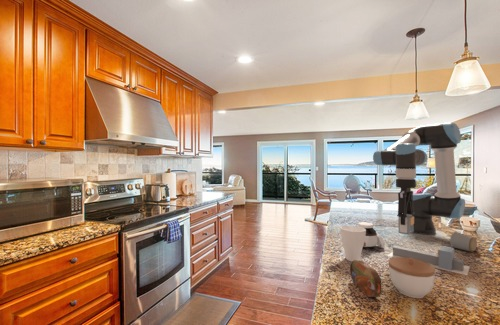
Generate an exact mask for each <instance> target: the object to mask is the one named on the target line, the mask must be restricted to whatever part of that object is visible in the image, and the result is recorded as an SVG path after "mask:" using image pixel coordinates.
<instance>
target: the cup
mask: <svg viewBox="0 0 500 325" xmlns="http://www.w3.org/2000/svg"><path fill="white" fill-rule="evenodd" d="M339 230H340V232H339V233H340V236H341V242H342V245H343V250H344V255H345V259H346V261H349V262H352V261H354V260H356V261H362V260H361V258H362V251H363V245H364V240H365V235H366V229H365V228H362V227H358V225H341V226H340V227H339Z"/></svg>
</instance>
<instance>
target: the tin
mask: <svg viewBox="0 0 500 325" xmlns="http://www.w3.org/2000/svg"><path fill="white" fill-rule="evenodd" d="M349 272H350V278H351V280H352V283H353V284H354V285H355V287H356V288H358V290H360V291H361V292H362V293H363V294H364V295H365V296H366V297H367V298H378V297H380V296H381V294H382V286H383V285H382V284H383V283H382V279H381V276H380V274H379V273H378V271H377V270H376V269H374V268H373V267H372V266H370V265H368V264H367V263H366V262H364V261H362V260H360V261H356V260H354V261H351V263H350V267H349Z"/></svg>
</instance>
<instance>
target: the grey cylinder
mask: <svg viewBox="0 0 500 325" xmlns="http://www.w3.org/2000/svg"><path fill="white" fill-rule="evenodd" d="M449 242H450V246H451V248H454V249H457V250H463V251H465V252H466V251H467V252H470V253H471V252H475V251H476V249H477V246H478V241H477V239H476V237H474V236H471V235H467V234H465V233H461V232H457V231H454V232H452V234H451V236H450V241H449Z"/></svg>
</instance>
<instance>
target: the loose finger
mask: <svg viewBox="0 0 500 325" xmlns="http://www.w3.org/2000/svg"><path fill="white" fill-rule="evenodd" d="M406 216H407V233H404V232H400V217H398V216H397V218H398V219H397V220H398V234H401V235H402V234H403V235H407V236H410V235H411V233H414V232H413V224H414V217H413V216H409V215H406Z"/></svg>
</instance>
